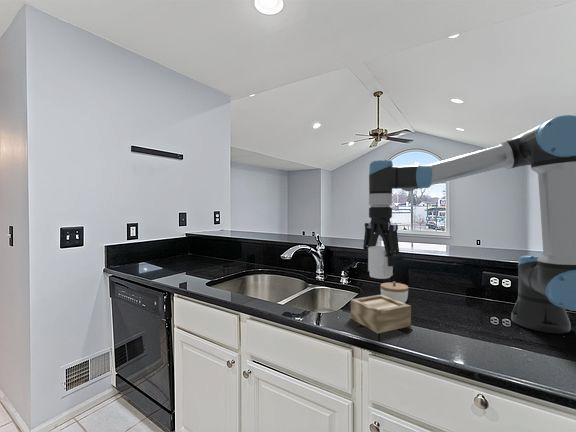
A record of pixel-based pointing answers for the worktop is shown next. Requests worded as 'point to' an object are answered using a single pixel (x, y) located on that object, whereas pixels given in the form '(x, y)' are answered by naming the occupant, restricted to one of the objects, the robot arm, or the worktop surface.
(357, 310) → the wooden box
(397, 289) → the lidded jar
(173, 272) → the worktop surface
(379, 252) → the white cup
